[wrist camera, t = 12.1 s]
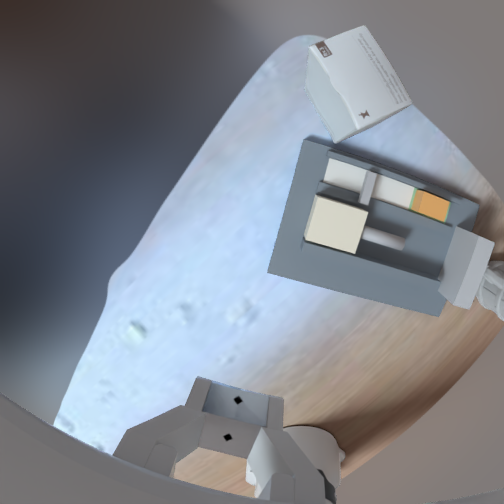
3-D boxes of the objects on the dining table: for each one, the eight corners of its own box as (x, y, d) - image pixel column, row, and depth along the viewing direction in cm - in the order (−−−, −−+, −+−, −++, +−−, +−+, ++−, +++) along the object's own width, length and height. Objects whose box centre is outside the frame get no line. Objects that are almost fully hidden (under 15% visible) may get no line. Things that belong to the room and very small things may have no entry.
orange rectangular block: (435, 218, 36) (443, 221, 34) (410, 209, 36) (418, 212, 34) (441, 199, 35) (449, 202, 33) (416, 189, 35) (424, 191, 33)
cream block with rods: (391, 259, 38) (399, 266, 35) (303, 234, 38) (305, 239, 35) (414, 188, 35) (423, 191, 32) (325, 158, 36) (328, 157, 33)
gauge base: (435, 313, 41) (456, 336, 34) (267, 269, 41) (264, 290, 34) (475, 204, 36) (504, 212, 29) (303, 140, 37) (307, 134, 30)
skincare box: (372, 126, 35) (420, 107, 21) (331, 146, 37) (360, 134, 22) (340, 69, 34) (369, 21, 19) (298, 87, 35) (307, 44, 21)
